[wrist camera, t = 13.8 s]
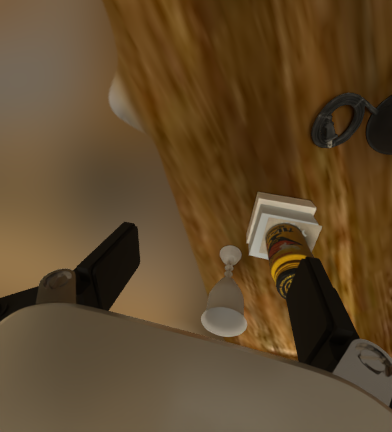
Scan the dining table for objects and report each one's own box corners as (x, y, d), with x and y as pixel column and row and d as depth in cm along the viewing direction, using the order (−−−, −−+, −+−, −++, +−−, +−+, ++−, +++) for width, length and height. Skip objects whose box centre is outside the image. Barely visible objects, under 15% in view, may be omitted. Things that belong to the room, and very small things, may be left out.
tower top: (260, 203, 38) (262, 212, 34) (311, 213, 36) (318, 224, 33) (248, 243, 42) (249, 255, 38) (294, 253, 40) (298, 266, 37)
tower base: (257, 191, 41) (258, 198, 37) (310, 199, 39) (316, 208, 36) (246, 233, 45) (246, 242, 42) (293, 242, 44) (297, 253, 40)
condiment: (268, 216, 34) (278, 261, 24) (322, 225, 33) (358, 277, 22) (258, 251, 37) (264, 304, 27) (307, 261, 36) (332, 320, 26)
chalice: (220, 268, 50) (209, 337, 35) (211, 245, 48) (194, 309, 32) (249, 263, 48) (252, 335, 32) (241, 239, 46) (239, 304, 30)
